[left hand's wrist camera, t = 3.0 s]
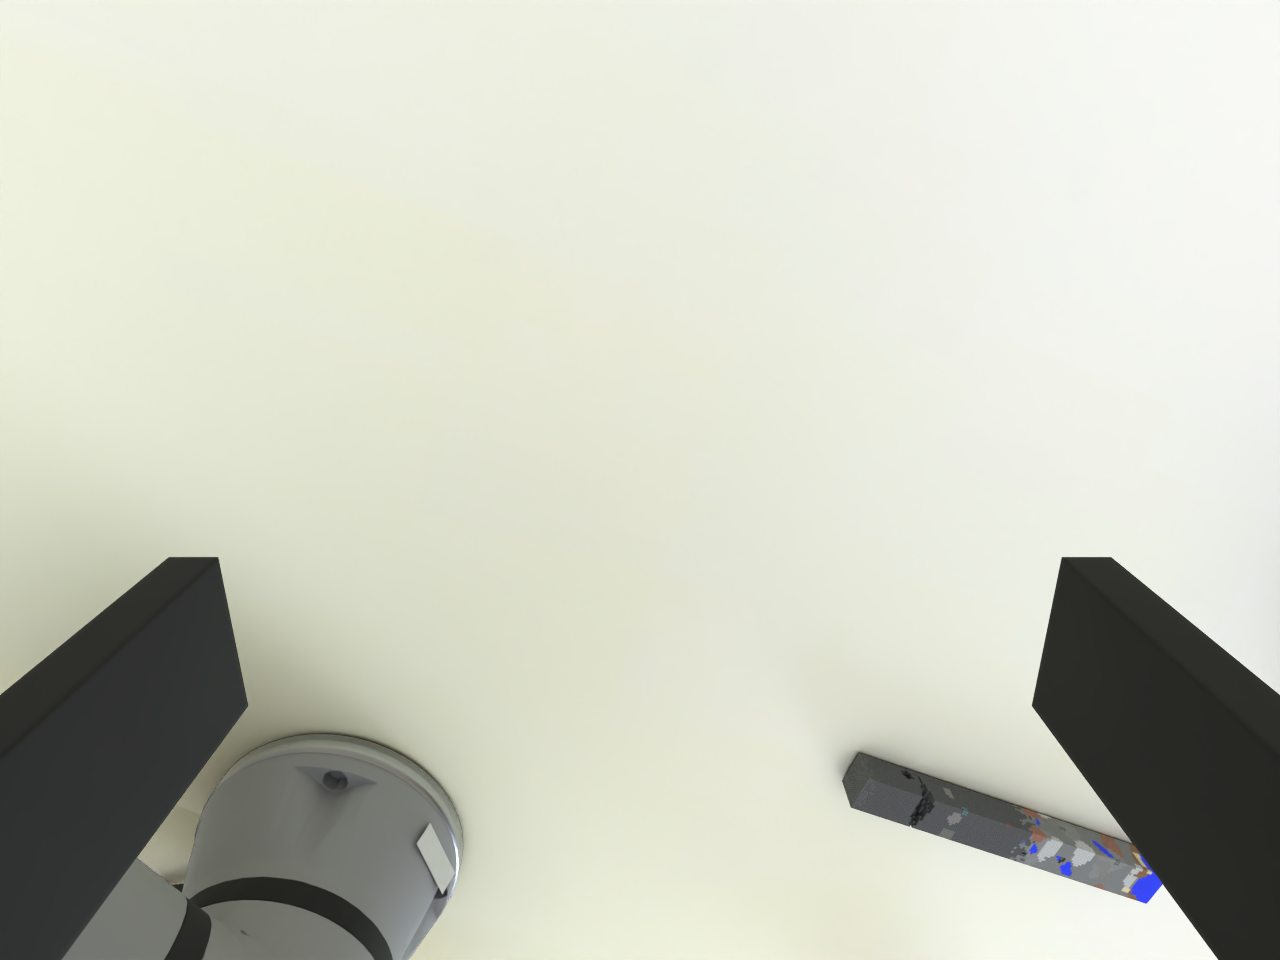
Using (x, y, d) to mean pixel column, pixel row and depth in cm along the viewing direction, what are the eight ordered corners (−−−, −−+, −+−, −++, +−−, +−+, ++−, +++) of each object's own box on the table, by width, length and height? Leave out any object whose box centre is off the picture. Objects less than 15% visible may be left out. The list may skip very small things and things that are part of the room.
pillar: (868, 778, 46) (1172, 879, 48) (858, 752, 48) (1151, 850, 50) (850, 807, 46) (1151, 905, 49) (842, 780, 48) (1130, 875, 51)
